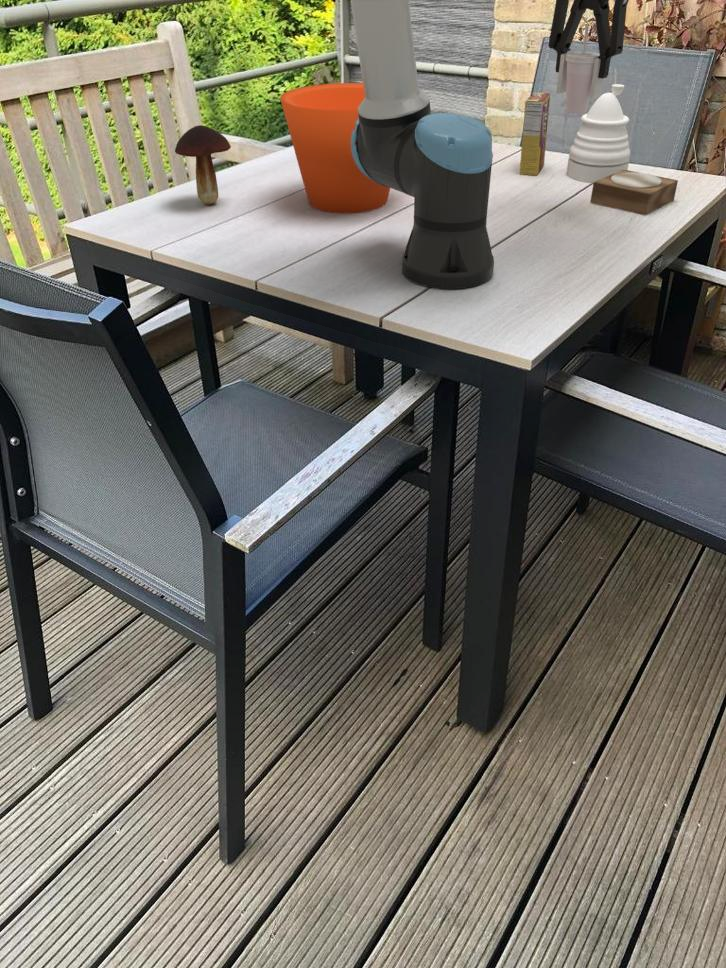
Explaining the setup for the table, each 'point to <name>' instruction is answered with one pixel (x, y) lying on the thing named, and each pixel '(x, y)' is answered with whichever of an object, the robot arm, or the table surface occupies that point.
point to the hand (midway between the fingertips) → (578, 94)
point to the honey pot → (600, 141)
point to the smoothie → (579, 78)
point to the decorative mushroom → (203, 158)
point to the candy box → (534, 133)
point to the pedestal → (634, 191)
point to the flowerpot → (330, 147)
